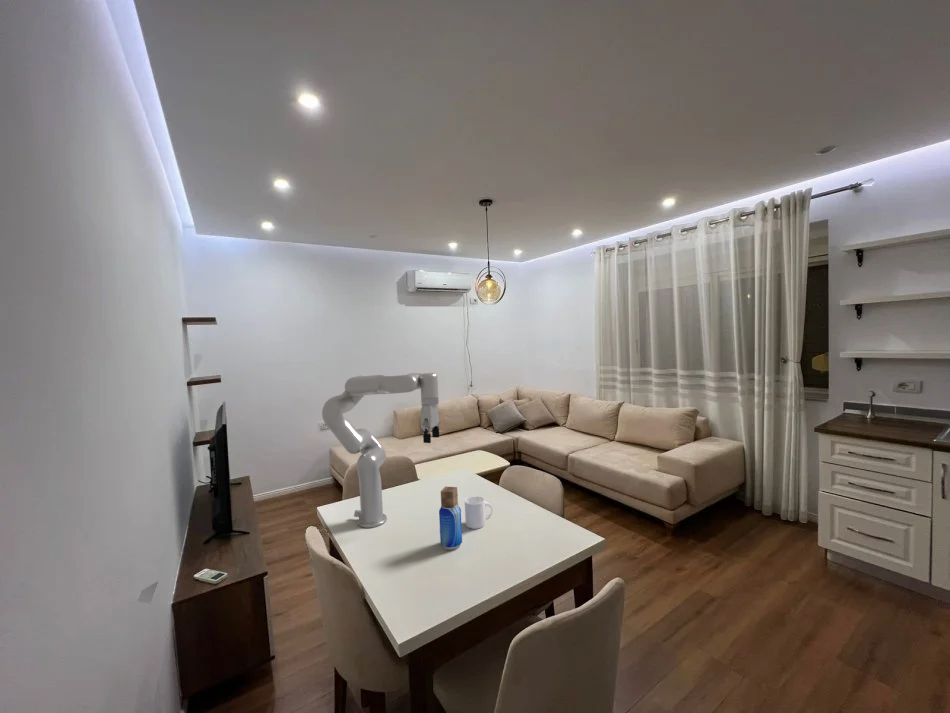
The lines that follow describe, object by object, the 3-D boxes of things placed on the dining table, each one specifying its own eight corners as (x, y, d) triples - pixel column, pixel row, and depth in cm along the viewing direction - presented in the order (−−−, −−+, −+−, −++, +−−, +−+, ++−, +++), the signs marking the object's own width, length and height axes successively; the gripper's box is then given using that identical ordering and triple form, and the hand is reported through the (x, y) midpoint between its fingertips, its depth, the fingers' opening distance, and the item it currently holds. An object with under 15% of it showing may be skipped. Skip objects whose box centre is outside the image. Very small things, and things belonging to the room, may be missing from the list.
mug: (495, 526, 164) (494, 501, 163) (468, 530, 161) (467, 505, 160) (489, 517, 172) (488, 493, 171) (463, 521, 169) (462, 497, 168)
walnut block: (441, 506, 147) (440, 491, 147) (445, 501, 152) (445, 486, 152) (453, 507, 146) (453, 492, 146) (457, 502, 151) (457, 487, 151)
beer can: (436, 546, 149) (434, 505, 149) (451, 537, 156) (450, 498, 155) (451, 553, 144) (449, 511, 143) (466, 544, 150) (465, 503, 149)
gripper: (429, 398, 178) (431, 435, 179) (413, 404, 162) (415, 444, 162) (444, 398, 176) (446, 435, 177) (430, 404, 160) (431, 445, 160)
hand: (431, 439), depth 170 cm, fingers open, 9 cm apart
